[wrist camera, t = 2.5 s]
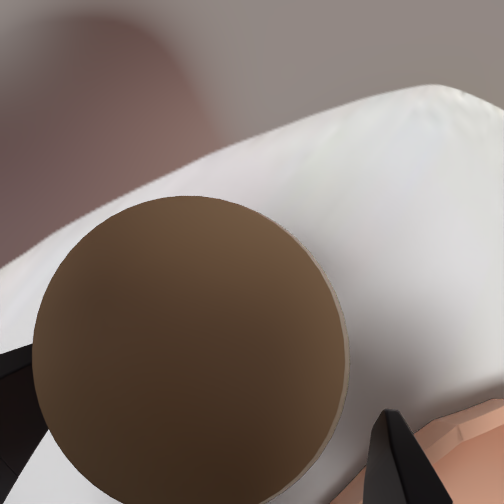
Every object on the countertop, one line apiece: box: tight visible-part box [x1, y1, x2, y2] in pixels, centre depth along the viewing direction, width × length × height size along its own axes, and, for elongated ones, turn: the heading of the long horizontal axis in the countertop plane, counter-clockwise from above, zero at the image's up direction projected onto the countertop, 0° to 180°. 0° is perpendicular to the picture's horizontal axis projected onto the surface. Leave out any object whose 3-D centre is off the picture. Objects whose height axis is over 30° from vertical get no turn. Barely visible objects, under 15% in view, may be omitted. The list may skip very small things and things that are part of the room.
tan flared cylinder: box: [32, 196, 350, 504], centre depth 10 cm, size 6×6×13 cm
